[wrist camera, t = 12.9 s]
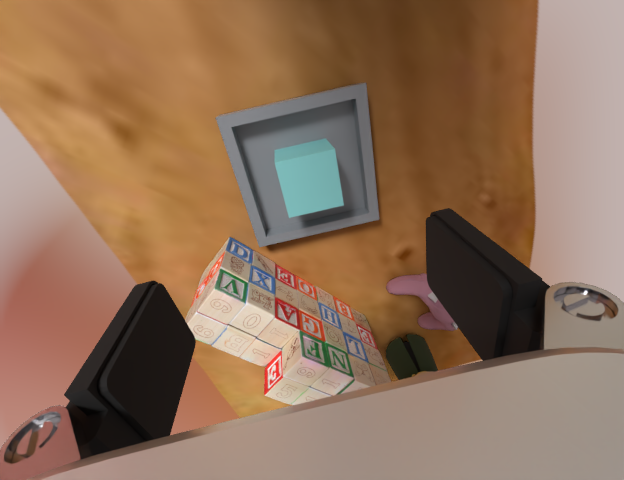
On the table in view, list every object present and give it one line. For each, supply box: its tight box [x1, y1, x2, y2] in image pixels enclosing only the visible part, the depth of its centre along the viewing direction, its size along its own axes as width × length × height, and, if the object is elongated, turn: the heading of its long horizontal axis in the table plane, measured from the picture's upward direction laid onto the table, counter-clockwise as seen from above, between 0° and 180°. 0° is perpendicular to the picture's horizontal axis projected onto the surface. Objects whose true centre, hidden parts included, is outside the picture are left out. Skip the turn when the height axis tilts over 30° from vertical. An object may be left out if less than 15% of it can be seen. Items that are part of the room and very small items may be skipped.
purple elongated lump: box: [386, 273, 458, 331], centre depth 37 cm, size 10×5×7 cm, turn 40°
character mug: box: [386, 334, 438, 380], centre depth 38 cm, size 11×7×13 cm, turn 108°
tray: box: [216, 83, 379, 247], centre depth 29 cm, size 13×13×2 cm
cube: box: [275, 138, 344, 218], centre depth 27 cm, size 5×5×5 cm
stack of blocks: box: [185, 237, 391, 405], centre depth 32 cm, size 21×6×12 cm, turn 51°
